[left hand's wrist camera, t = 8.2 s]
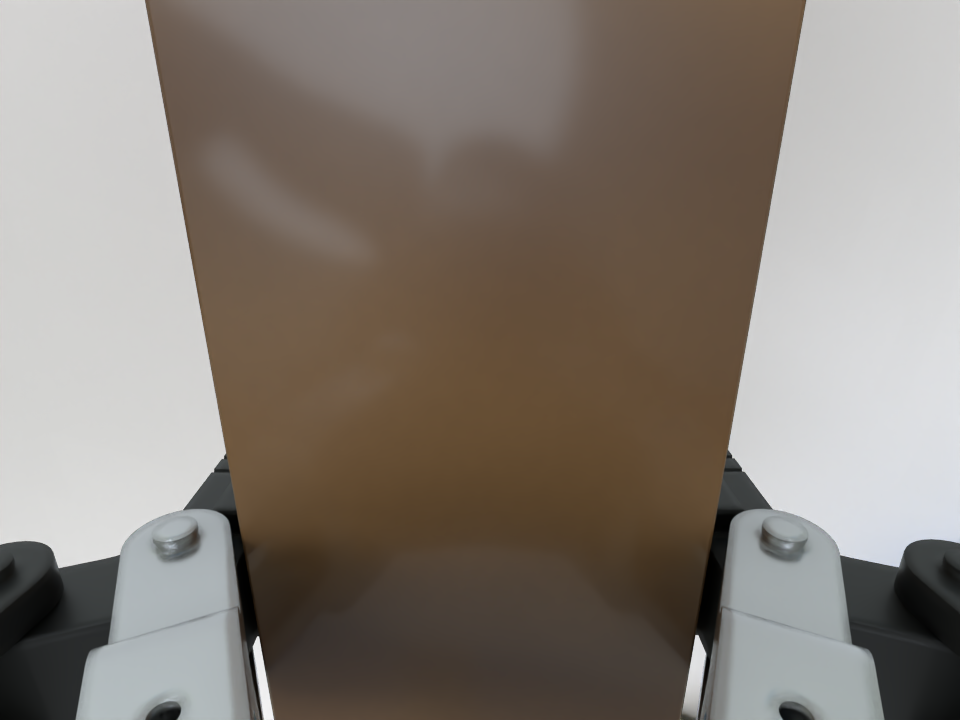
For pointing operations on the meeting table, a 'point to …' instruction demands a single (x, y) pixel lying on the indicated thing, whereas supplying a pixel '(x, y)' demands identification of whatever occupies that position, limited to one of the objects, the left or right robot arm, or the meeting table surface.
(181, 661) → the left robot arm
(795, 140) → the meeting table surface
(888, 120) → the meeting table surface
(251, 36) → the box
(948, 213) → the meeting table surface
